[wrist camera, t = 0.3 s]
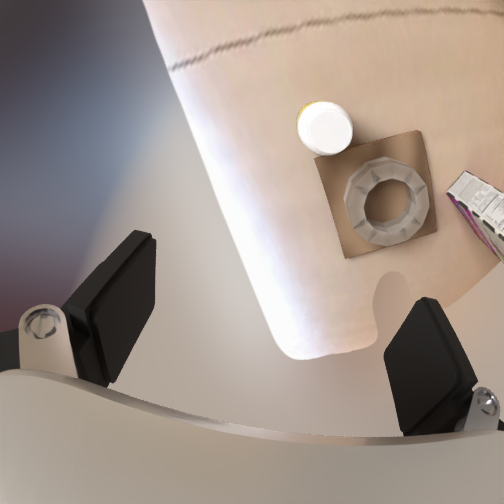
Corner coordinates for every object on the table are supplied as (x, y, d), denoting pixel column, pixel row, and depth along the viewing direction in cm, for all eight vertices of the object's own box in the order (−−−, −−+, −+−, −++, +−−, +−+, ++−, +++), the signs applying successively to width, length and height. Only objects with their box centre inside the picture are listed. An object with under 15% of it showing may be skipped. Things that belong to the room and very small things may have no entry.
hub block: (417, 130, 30) (431, 135, 26) (433, 227, 36) (445, 241, 32) (314, 158, 34) (317, 166, 30) (343, 254, 40) (348, 271, 36)
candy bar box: (497, 216, 33) (559, 275, 19) (478, 238, 35) (535, 304, 21) (464, 166, 31) (540, 216, 17) (443, 191, 33) (511, 252, 19)
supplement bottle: (350, 129, 31) (371, 142, 23) (313, 153, 34) (322, 174, 25) (323, 92, 30) (337, 90, 21) (286, 117, 32) (285, 125, 23)
